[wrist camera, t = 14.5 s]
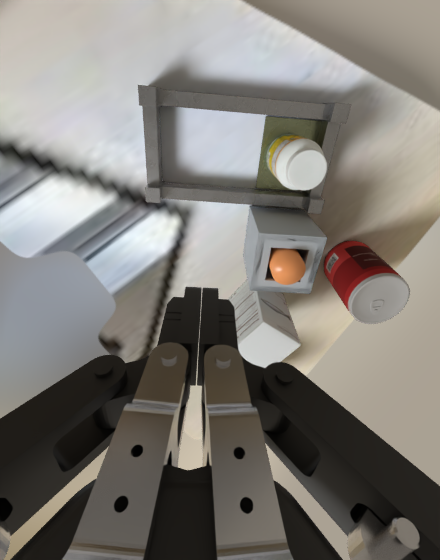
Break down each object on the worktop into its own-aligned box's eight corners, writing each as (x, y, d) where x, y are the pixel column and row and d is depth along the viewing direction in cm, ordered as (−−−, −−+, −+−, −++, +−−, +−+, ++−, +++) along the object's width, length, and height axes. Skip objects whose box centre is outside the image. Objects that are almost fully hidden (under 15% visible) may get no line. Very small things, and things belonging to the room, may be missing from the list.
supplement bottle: (257, 160, 36) (270, 176, 28) (285, 123, 34) (308, 128, 26) (286, 185, 38) (306, 206, 30) (315, 151, 36) (345, 164, 28)
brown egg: (261, 259, 39) (269, 284, 34) (266, 232, 37) (275, 254, 31) (289, 260, 39) (301, 285, 34) (295, 234, 37) (309, 256, 32)
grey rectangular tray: (152, 193, 39) (146, 201, 35) (146, 87, 32) (138, 84, 29) (311, 204, 40) (320, 213, 36) (337, 104, 33) (351, 104, 30)
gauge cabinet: (243, 255, 44) (249, 290, 36) (249, 206, 40) (259, 233, 31) (293, 258, 44) (311, 293, 36) (305, 210, 40) (328, 237, 32)
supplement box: (284, 293, 48) (303, 346, 38) (255, 318, 51) (266, 374, 41) (252, 271, 46) (264, 321, 35) (225, 299, 49) (228, 353, 38)
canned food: (328, 287, 48) (355, 331, 38) (316, 250, 44) (344, 289, 35) (373, 271, 46) (413, 313, 37) (365, 231, 42) (408, 266, 33)
